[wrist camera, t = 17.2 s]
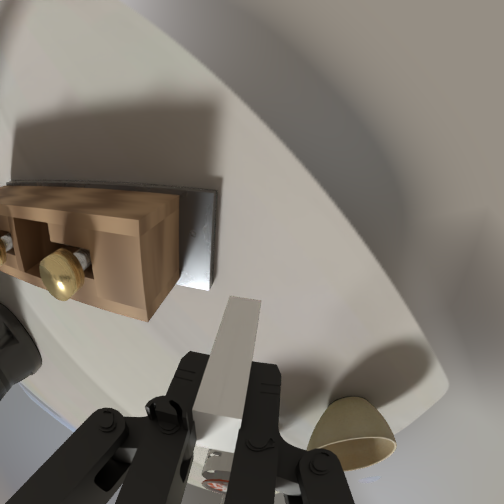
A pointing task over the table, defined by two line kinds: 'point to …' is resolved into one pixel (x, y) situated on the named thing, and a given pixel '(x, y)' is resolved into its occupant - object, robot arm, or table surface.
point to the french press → (217, 471)
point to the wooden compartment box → (97, 242)
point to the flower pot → (354, 433)
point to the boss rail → (190, 238)
